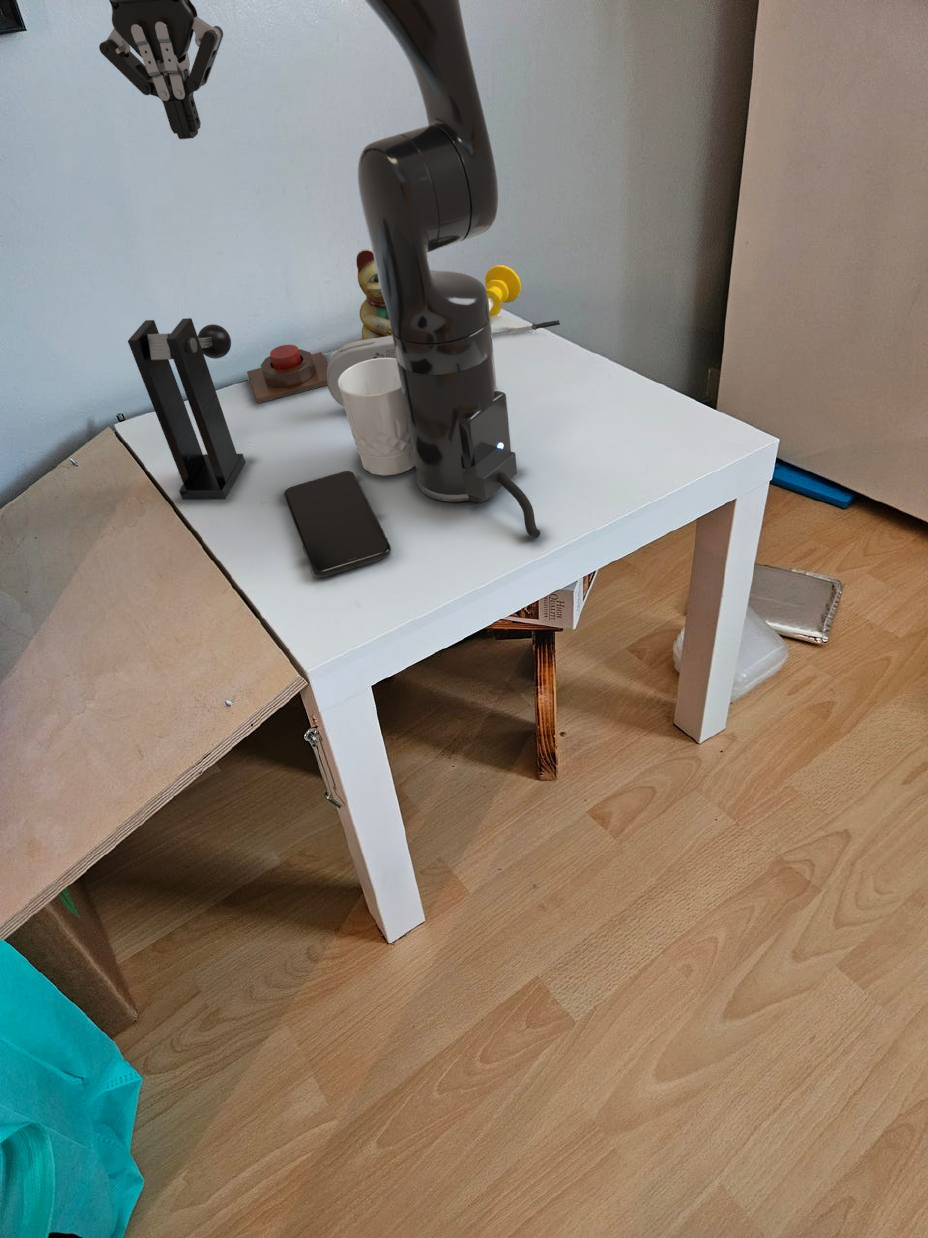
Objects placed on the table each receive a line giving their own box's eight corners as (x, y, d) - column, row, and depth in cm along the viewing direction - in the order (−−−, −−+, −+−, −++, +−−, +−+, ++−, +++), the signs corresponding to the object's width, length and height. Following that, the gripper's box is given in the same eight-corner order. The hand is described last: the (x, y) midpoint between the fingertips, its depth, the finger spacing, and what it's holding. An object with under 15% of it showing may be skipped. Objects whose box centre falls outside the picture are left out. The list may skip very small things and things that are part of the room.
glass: (439, 444, 101) (427, 361, 94) (407, 484, 96) (391, 399, 89) (378, 434, 104) (361, 353, 97) (343, 473, 99) (323, 390, 92)
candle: (528, 285, 122) (481, 347, 113) (506, 308, 126) (458, 369, 117) (501, 256, 121) (451, 316, 112) (479, 280, 125) (429, 339, 116)
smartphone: (282, 495, 97) (315, 582, 85) (280, 488, 96) (313, 575, 85) (353, 474, 98) (395, 557, 87) (352, 467, 97) (393, 550, 86)
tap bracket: (200, 463, 103) (145, 314, 91) (250, 462, 102) (201, 311, 90) (177, 499, 99) (116, 347, 86) (229, 499, 97) (175, 344, 85)
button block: (322, 356, 120) (318, 338, 118) (336, 382, 114) (332, 364, 112) (248, 376, 118) (242, 358, 116) (258, 403, 112) (253, 385, 110)
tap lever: (208, 358, 102) (204, 324, 101) (238, 356, 102) (234, 323, 101) (145, 366, 89) (139, 328, 88) (179, 365, 89) (173, 326, 87)
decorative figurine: (380, 378, 113) (356, 258, 103) (355, 354, 118) (331, 237, 108) (449, 355, 115) (433, 235, 105) (422, 332, 121) (404, 216, 111)
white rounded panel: (335, 418, 107) (319, 353, 102) (334, 409, 109) (319, 344, 103) (497, 390, 108) (490, 324, 102) (494, 381, 109) (487, 316, 104)
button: (298, 354, 116) (295, 341, 115) (304, 366, 113) (300, 353, 112) (271, 361, 115) (267, 349, 114) (276, 373, 113) (272, 360, 112)
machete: (456, 348, 118) (456, 345, 118) (454, 340, 119) (454, 338, 119) (560, 327, 118) (560, 324, 118) (558, 320, 119) (558, 317, 119)
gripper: (47, -51, 83) (117, 152, 95) (181, -68, 81) (236, 142, 93) (83, -64, 89) (145, 130, 100) (210, -80, 86) (258, 120, 98)
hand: (189, 136), depth 96 cm, fingers closed
